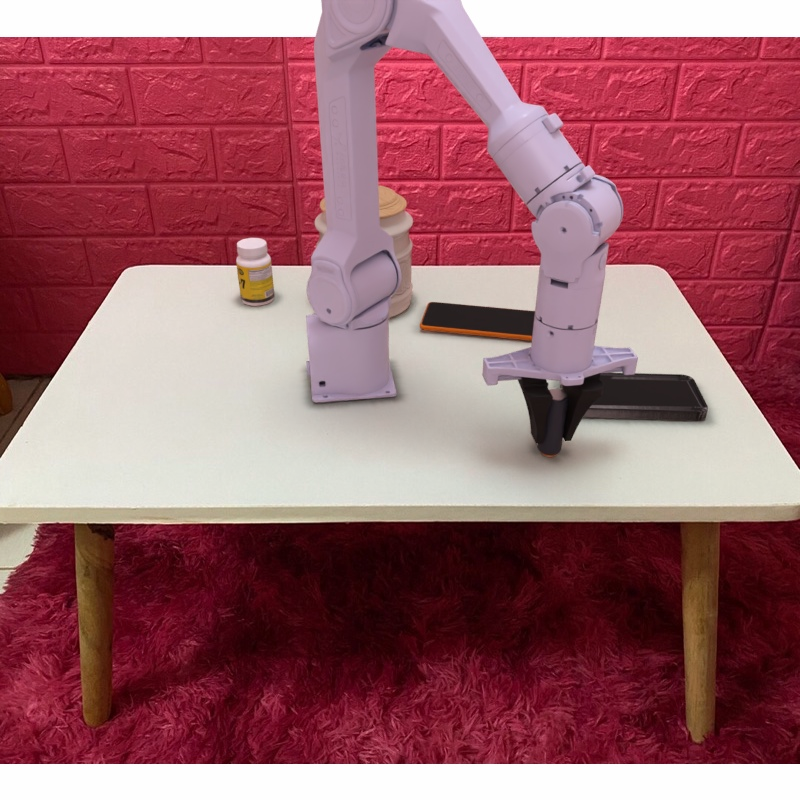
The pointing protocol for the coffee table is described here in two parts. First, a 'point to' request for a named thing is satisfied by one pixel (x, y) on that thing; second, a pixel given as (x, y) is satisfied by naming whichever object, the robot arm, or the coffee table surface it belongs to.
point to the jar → (398, 227)
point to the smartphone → (478, 320)
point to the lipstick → (554, 424)
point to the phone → (649, 397)
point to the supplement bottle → (254, 272)
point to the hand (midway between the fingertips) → (550, 436)
